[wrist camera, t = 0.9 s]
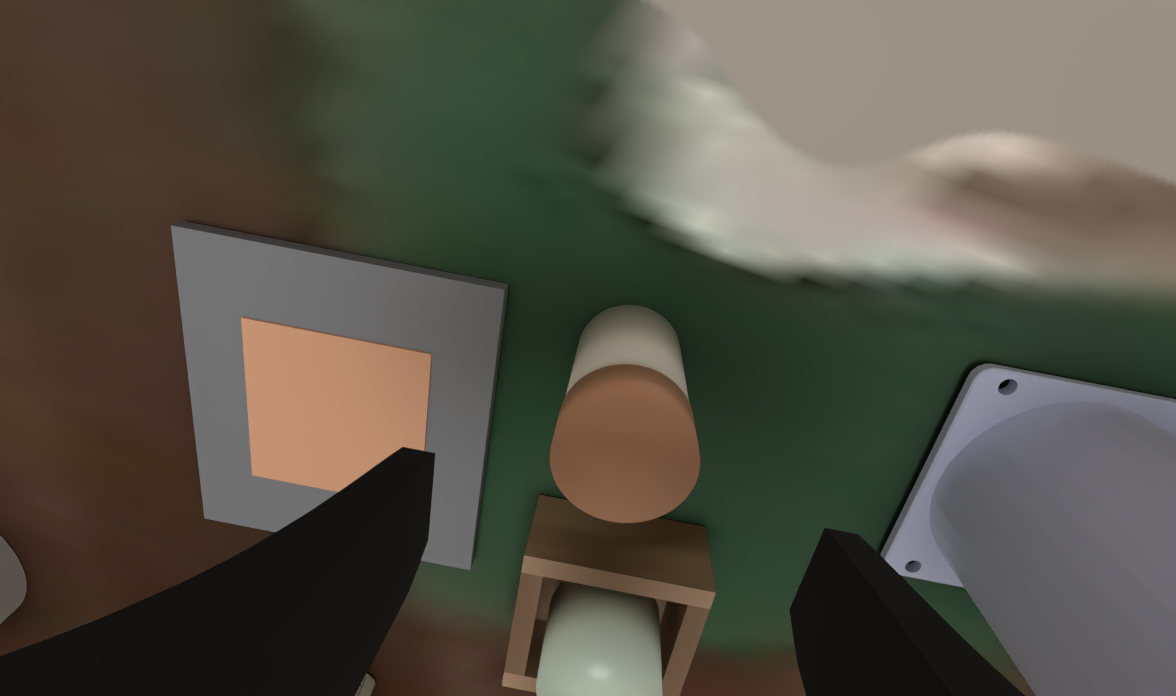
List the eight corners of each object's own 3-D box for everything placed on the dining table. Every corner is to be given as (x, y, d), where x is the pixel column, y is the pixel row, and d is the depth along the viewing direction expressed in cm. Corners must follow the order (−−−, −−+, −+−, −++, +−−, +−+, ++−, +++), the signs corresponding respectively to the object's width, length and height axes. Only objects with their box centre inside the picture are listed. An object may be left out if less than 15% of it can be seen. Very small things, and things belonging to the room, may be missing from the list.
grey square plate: (508, 283, 18) (504, 291, 17) (474, 558, 22) (469, 572, 22) (185, 221, 18) (168, 226, 17) (215, 507, 22) (202, 520, 22)
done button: (670, 582, 20) (675, 662, 17) (646, 660, 21) (647, 745, 18) (558, 560, 20) (545, 637, 17) (542, 640, 21) (528, 722, 18)
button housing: (705, 526, 21) (715, 592, 18) (667, 645, 23) (671, 718, 20) (539, 494, 21) (524, 555, 18) (518, 616, 23) (501, 685, 20)
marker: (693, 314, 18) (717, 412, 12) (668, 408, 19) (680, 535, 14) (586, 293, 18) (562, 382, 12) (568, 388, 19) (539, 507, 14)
